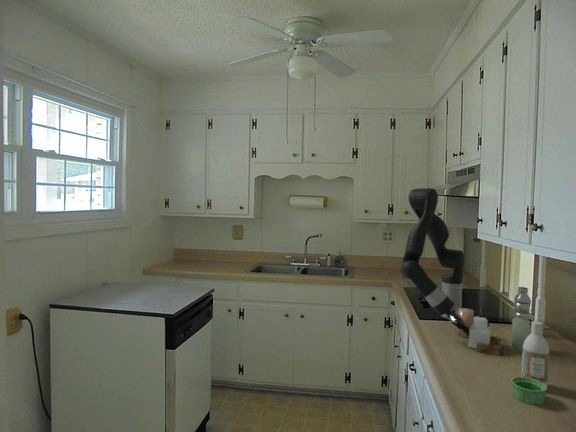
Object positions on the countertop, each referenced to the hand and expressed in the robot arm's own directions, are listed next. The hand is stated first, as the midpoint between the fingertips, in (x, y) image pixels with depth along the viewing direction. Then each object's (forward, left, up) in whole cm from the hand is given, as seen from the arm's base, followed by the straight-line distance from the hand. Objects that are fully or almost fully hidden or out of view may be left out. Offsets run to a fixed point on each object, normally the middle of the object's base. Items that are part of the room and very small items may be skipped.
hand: (470, 334), depth 156 cm
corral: (-3, +5, -4) cm, 8 cm away
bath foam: (+17, +29, -5) cm, 34 cm away
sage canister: (-13, +13, -4) cm, 19 cm away
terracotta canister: (-9, -7, -4) cm, 12 cm away
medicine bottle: (-1, +3, -4) cm, 5 cm away
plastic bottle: (-32, +6, -5) cm, 33 cm away
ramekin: (+27, +31, -5) cm, 41 cm away
